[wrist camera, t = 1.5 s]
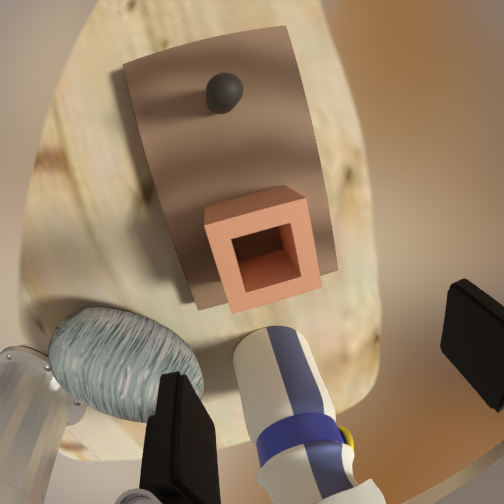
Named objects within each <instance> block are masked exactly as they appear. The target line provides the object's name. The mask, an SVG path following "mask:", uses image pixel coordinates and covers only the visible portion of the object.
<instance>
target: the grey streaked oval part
mask: <svg viewBox="0 0 504 504" xmlns="http://www.w3.org/2000/svg"><path fill="white" fill-rule="evenodd" d="M48 361H49V366H50V370H51V372H52V374H53V376H54V378H55V380H56V381H57V382H58V383H59V385H60V386H61V387H62V388H63V389H64V390H65V391H66V392H67V393H68V394H70V395H71V396H73V397H74V398H76V399H77V400H79V401H81V402H82V403H84V404H85V405H88V406H90V407H92V408H94V409H96V410H98V411H100V412H102V413H105V414H108V415H111V416H114V417H117V418H120V419H124V420H129V421H134V422H141V423H147V420H148V418H149V416H151V415H155V411H156V403H157V396H158V389H159V382H160V377H161V375H162V374H166V373H171V372H176V371H179V372H180V374H181V375H184V374H186V375H187V377H188V379H189V380H190V382H191V384H192V386H193V388H194V390H195V391H196V393H197V395H198V397H199V399H200V400H201V398H202V395H203V391H204V381H203V376H202V372H201V369H200V366H199V363H198V360H197V358H196V356H195V354H194V352H193V351H192V349H191V348H190V346H189V345H188V344H187V343H186V342H185V341H184V340H183V339H182V338H181V337H180V336H178V335H177V334H176V333H175V332H173V331H172V330H171V329H169V328H167V327H165V326H163V325H161V324H159V323H158V322H156V321H154V320H152V319H150V318H147V317H144V316H141V315H139V314H135V313H131V312H128V311H123V310H117V309H112V308H105V307H92V308H84V309H80V310H78V311H75V312H73V313H72V314H70V315H68V316H67V317H66V318H64V319H63V320H62V321H61V322H60V323H59V324H58V326H57V327H56V329H55V331H54V332H53V334H52V336H51V339H50V342H49V347H48Z"/></svg>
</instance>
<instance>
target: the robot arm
mask: <svg viewBox="0 0 504 504" xmlns="http://www.w3.org/2000/svg"><path fill="white" fill-rule="evenodd" d="M440 346H441V350H442V352H443V354H444V355H445V356H446V357H447V358H448V359H449V360H450V362H451V363H452V364H453V365H454V366H455V367H456V368H457V369H458V371H459V372H460V373H461V374H462V375H463V376H464V377H465V378H466V380H467V381H468V382H469V383H470V384H471V386H472V387H473V388H474V389H475V390H476V391H477V392H478V394H479V395H480V396H481V397H482V399H483V400H484V401H485V402H486V403H487V405H488V406H489V407H490V408H494V409H495V410H496V411H497V413H499V412H500V411H501V410H503V409H504V306H502V305H501V304H500V303H499V302H497V301H496V300H494V299H493V298H492V297H490V296H489V295H488V294H486V293H485V292H484V291H482V290H481V289H480V288H478V287H477V286H475V285H474V284H473V283H471V282H470V281H468V280H467V279H461V280H459V281H457V282H455V283H453V284H451V286H450V289H449V290H448V294H447V304H446V311H445V319H444V326H443V333H442V338H441V344H440ZM85 408H86V405H85V404H84V403H82V402H81V401H79V400H77V399H76V398H74V397H73V396H71V395H70V394H68V393H67V392H66V391H65V390H64V389H63V388H62V387H61V386H60V385H59V383H58V382H57V381H56V380H55V378H54V376H53V374H52V372H51V370H50V366H49V361H48V357H47V356H45V355H43V354H41V353H39V352H37V351H35V350H33V349H29V348H26V347H21V346H12V347H8V348H6V349H4V350H3V351H2V352H1V353H0V504H44V500H45V496H46V492H47V488H48V484H49V480H50V476H51V473H52V469H53V466H54V463H55V459H56V456H57V452H58V449H59V446H60V443H61V440H62V437H63V434H64V431H65V428H66V426H69V425H74V424H76V423H78V422H79V421H80V420H81V419H82V417H83V415H84V412H85ZM115 504H221V499H220V488H219V476H218V464H217V449H216V433H215V426H214V423H213V421H212V419H211V418H210V416H209V414H208V413H207V411H206V409H205V407H204V406H203V404H202V402H201V400H200V399H199V397H198V395H197V393H196V391H195V390H194V388H193V386H192V384H191V382H190V380H189V379H188V377H187V375H186V374H184V375H181V374H180V372H179V371H176V372H171V373H166V374H162V375H161V377H160V382H159V389H158V396H157V403H156V411H155V415H151V416H149V418H148V420H147V426H146V433H145V441H144V449H143V457H142V466H141V476H140V485H139V489H132V490H128V491H126V492H124V493H123V494H122V495H121V496H120V497H118V499H117V500H116V502H115ZM401 504H504V440H503V441H502V442H501V443H499V444H498V445H497V446H496V447H494V448H493V449H492V450H490V451H489V452H488V453H486V454H485V455H483V456H482V457H480V458H479V459H478V460H476V461H475V462H473V463H472V464H470V465H469V466H467V467H466V468H464V469H463V470H461V471H460V472H458V473H456V474H455V475H453V476H451V477H450V478H448V479H446V480H445V481H443V482H441V483H440V484H438V485H436V486H434V487H432V488H431V489H429V490H427V491H425V492H423V493H422V494H419V495H417V496H415V497H413V498H411V499H410V500H407V501H405V502H403V503H401Z"/></svg>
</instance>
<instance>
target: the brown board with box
mask: <svg viewBox="0 0 504 504" xmlns="http://www.w3.org/2000/svg"><path fill="white" fill-rule="evenodd" d="M123 68H124V73H125V77H126V81H127V85H128V90H129V94H130V98H131V102H132V106H133V110H134V114H135V118H136V121H137V125H138V129H139V133H140V136H141V140H142V144H143V147H144V151H145V154H146V158H147V161H148V165H149V168H150V171H151V175H152V178H153V181H154V185H155V188H156V191H157V194H158V197H159V201H160V204H161V207H162V210H163V213H164V216H165V219H166V222H167V225H168V228H169V231H170V234H171V237H172V240H173V243H174V246H175V249H176V252H177V254H178V257H179V260H180V263H181V266H182V268H183V271H184V274H185V277H186V279H187V282H188V285H189V288H190V290H191V293H192V295H193V298H194V301H195V303H196V306H197V309H198V311H199V310H203V309H207V308H210V307H214V306H218V305H221V304H225V303H229V302H228V299H227V296H226V293H225V290H224V287H223V284H222V281H221V278H220V275H219V272H218V268H217V265H216V262H215V259H214V256H213V253H212V249H211V246H210V243H209V240H208V237H207V233H206V230H205V227H204V215H205V207H206V206H210V205H213V204H217V203H220V202H224V201H227V200H231V199H234V198H238V197H242V196H246V195H249V194H253V193H257V192H261V191H264V190H268V189H272V188H276V187H280V186H284V185H286V186H287V187H289V188H291V189H292V190H294V191H296V192H297V193H299V194H301V195H302V196H304V197H305V198H306V200H307V205H308V210H309V215H310V221H311V226H312V232H313V237H314V243H315V249H316V255H317V260H318V267H319V273H320V276H321V275H324V274H328V273H331V272H334V271H337V270H338V266H337V259H336V251H335V244H334V238H333V231H332V225H331V218H330V212H329V206H328V201H327V195H326V189H325V184H324V179H323V173H322V168H321V163H320V158H319V153H318V148H317V144H316V139H315V135H314V130H313V126H312V121H311V117H310V113H309V108H308V104H307V100H306V96H305V92H304V88H303V84H302V81H301V77H300V73H299V69H298V66H297V62H296V58H295V55H294V51H293V48H292V44H291V41H290V38H289V34H288V31H287V28H286V26H278V27H270V28H263V29H256V30H249V31H243V32H238V33H232V34H227V35H222V36H217V37H213V38H208V39H204V40H200V41H196V42H192V43H188V44H184V45H181V46H177V47H174V48H170V49H167V50H164V51H160V52H157V53H154V54H151V55H148V56H145V57H142V58H139V59H136V60H134V61H131V62H128V63H125V64H123ZM231 240H232V243H233V247H234V250H235V254H236V257H237V261H238V262H240V261H243V260H247V259H250V258H254V257H258V256H261V255H265V254H268V253H272V252H275V251H279V250H282V249H283V247H282V242H281V238H280V233H279V229H278V226H277V227H273V228H269V229H266V230H262V231H258V232H255V233H251V234H248V235H244V236H240V237H237V238H233V239H231Z"/></svg>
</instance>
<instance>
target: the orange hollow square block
mask: <svg viewBox="0 0 504 504" xmlns="http://www.w3.org/2000/svg"><path fill="white" fill-rule="evenodd" d="M277 226H278V229H279V233H280V238H281V242H282V247H283V249H282V250H279V251H275V252H272V253H268V254H265V255H261V256H258V257H254V258H250V259H247V260H243V261H240V262H238V261H237V257H236V254H235V250H234V247H233V243H232V240H231V239H233V238H237V237H240V236H244V235H248V234H251V233H255V232H258V231H262V230H266V229H269V228H273V227H277ZM204 227H205V230H206V233H207V237H208V240H209V243H210V246H211V249H212V253H213V256H214V259H215V262H216V265H217V268H218V272H219V275H220V278H221V281H222V284H223V287H224V290H225V293H226V296H227V299H228V302H229V305H230V308H231V311H232V314H233V313H236V312H240V311H244V310H247V309H251V308H254V307H258V306H261V305H265V304H268V303H272V302H275V301H279V300H282V299H285V298H289V297H292V296H295V295H299V294H302V293H305V292H308V291H312V290H315V289H318V288H321V287H322V286H321V279H320V273H319V267H318V260H317V255H316V249H315V243H314V237H313V232H312V226H311V221H310V215H309V210H308V205H307V200H306V198H305V197H304V196H302V195H301V194H299V193H297V192H296V191H294V190H292V189H291V188H289V187H287V186H286V185H284V186H280V187H276V188H272V189H268V190H264V191H261V192H257V193H253V194H249V195H246V196H242V197H238V198H234V199H231V200H227V201H224V202H220V203H217V204H213V205H210V206H206V207H205V215H204Z"/></svg>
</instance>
